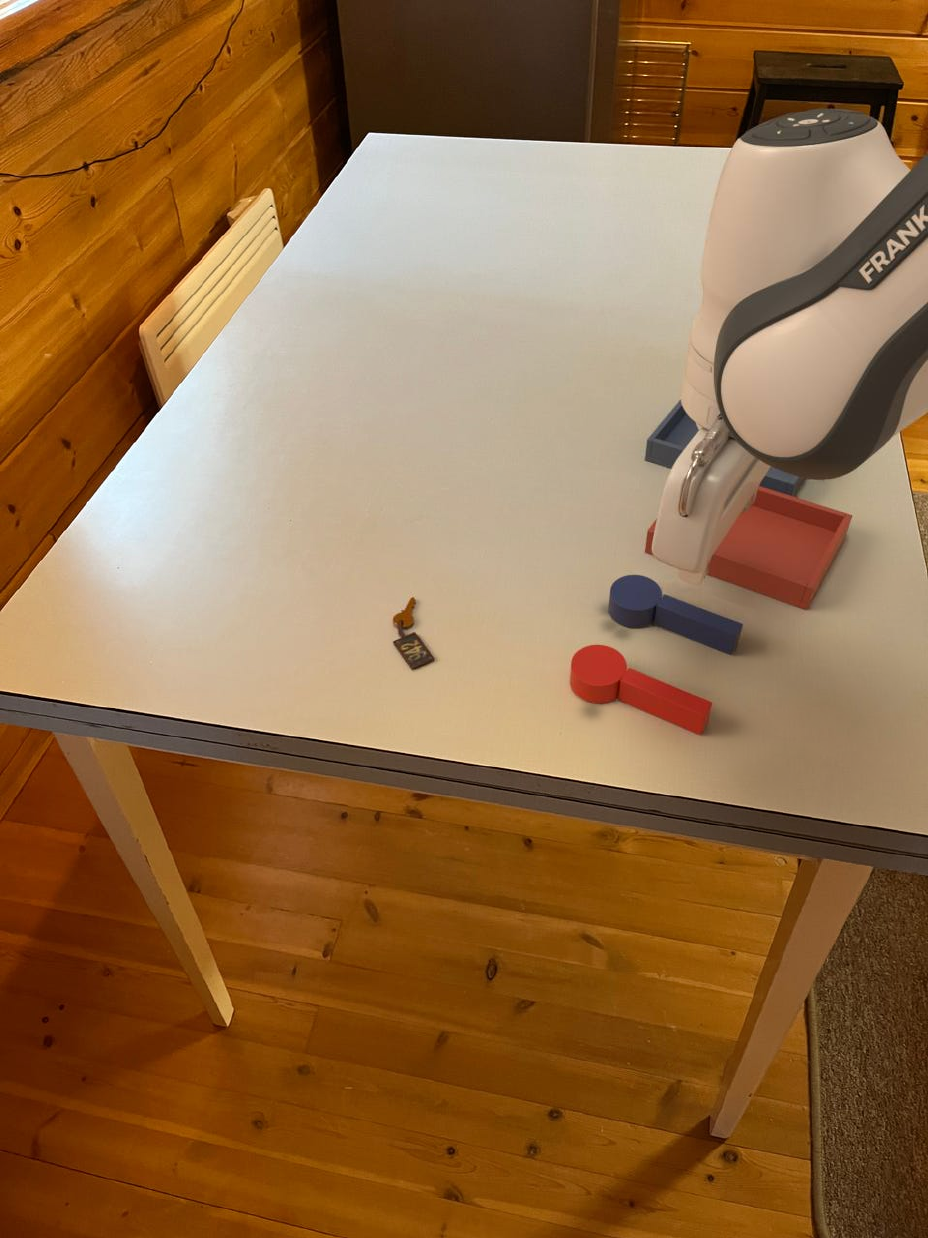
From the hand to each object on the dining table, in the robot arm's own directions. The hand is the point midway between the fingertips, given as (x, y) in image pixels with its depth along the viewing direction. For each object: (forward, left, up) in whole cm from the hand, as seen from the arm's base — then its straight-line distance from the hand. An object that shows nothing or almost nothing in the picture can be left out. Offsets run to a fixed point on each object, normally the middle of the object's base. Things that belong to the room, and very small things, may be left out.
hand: (717, 540), depth 71 cm
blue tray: (+7, -26, -11) cm, 29 cm away
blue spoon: (+2, 0, -11) cm, 11 cm away
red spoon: (+1, +9, -11) cm, 14 cm away
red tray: (+1, -13, -11) cm, 17 cm away
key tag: (+21, +12, -11) cm, 26 cm away
